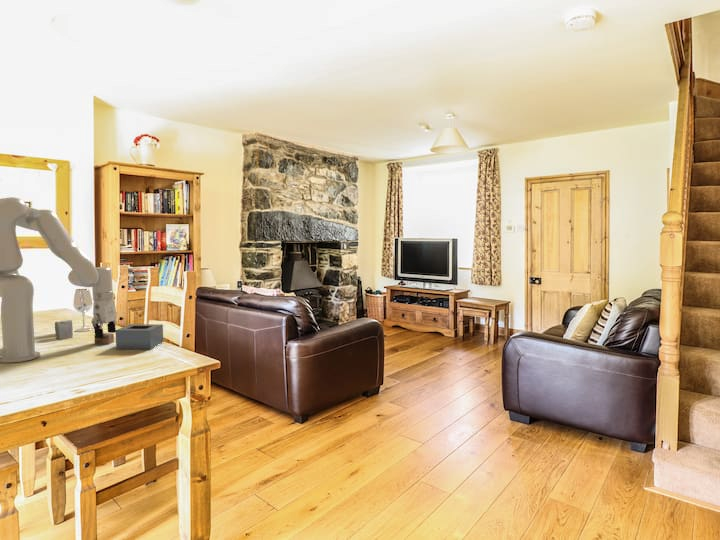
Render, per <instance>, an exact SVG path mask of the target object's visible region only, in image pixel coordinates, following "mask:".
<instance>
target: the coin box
mask: <svg viewBox="0 0 720 540" xmlns="http://www.w3.org/2000/svg"><path fill="white" fill-rule="evenodd" d="M162 342H163V343H164V325H163V324H157V323H156V324H155V323H154V324H150V323H149V324H141V323H140V324H138V323H136V324H133V323H131V324H127V325H126V326H123V327H120V328H118V329H116V332H115V347H116V349H115V350H117V351H118V350H119V351H121V350H123V351H125V350H126V351H127V350H128V351H129V350H130V351H131V350H134V351H143V350H144V351H149V350H150V351H151V350H153V349H155V348H156V347H155V346H157V345H158V344H160V343H162ZM163 343H162V344H163ZM160 345H161V344H160ZM158 346H159V345H158ZM158 346H157V347H158ZM154 347H155V348H154ZM152 348H153V349H152Z"/></svg>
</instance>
